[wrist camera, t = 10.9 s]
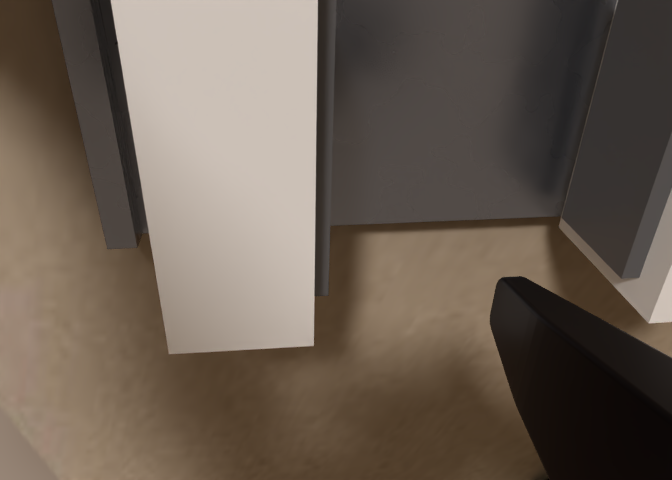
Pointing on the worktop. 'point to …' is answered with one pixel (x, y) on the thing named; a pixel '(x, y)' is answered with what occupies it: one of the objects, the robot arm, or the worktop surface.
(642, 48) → the block
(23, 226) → the worktop surface
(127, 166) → the rail
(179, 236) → the white rectangular prism
